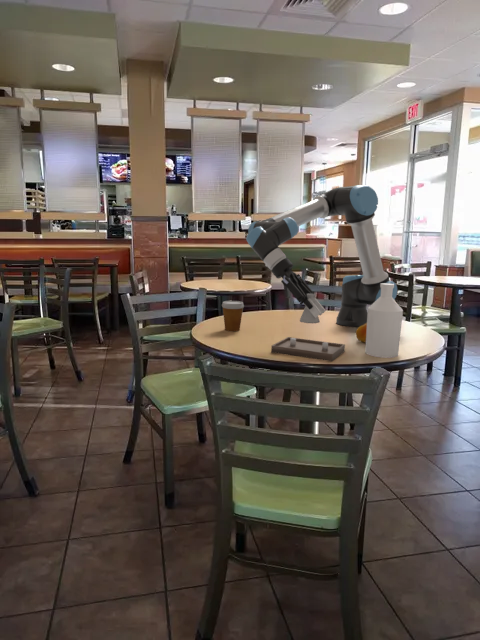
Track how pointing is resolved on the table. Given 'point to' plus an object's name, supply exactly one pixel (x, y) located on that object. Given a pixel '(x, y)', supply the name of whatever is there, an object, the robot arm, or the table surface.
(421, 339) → the table surface
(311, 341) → the caddy tray
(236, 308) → the disposable coffee cup
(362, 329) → the fruit
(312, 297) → the flask
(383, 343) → the bottle
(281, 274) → the robot arm
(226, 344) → the table surface
